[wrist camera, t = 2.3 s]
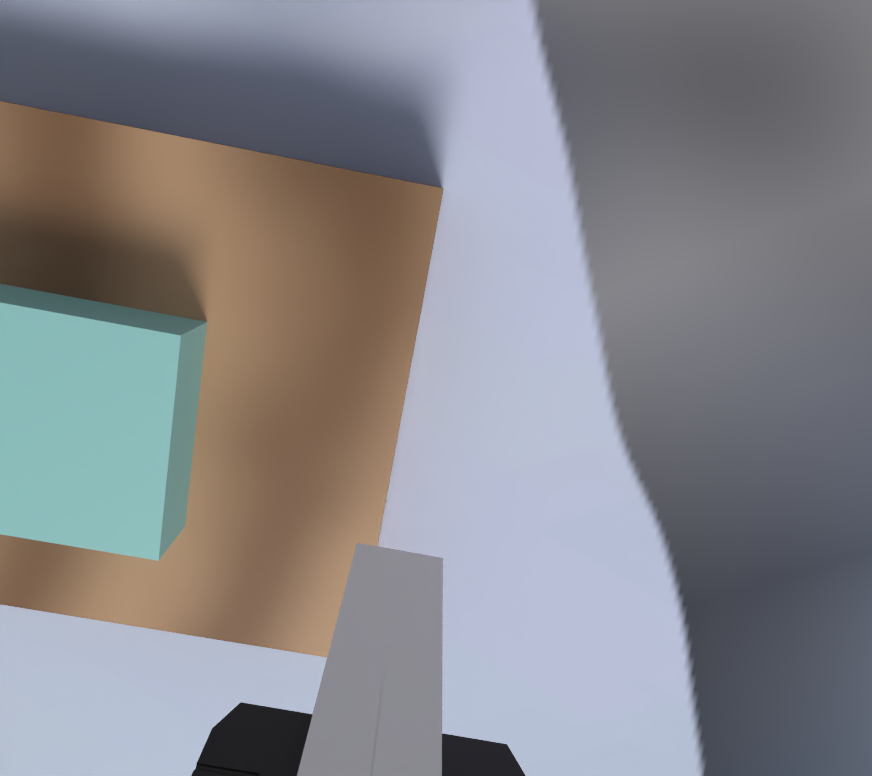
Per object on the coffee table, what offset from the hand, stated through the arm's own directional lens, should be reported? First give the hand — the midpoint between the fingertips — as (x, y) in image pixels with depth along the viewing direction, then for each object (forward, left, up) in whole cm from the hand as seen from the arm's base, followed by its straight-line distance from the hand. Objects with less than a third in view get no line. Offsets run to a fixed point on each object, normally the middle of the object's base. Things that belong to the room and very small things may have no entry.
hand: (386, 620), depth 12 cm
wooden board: (-10, 0, -10) cm, 15 cm away
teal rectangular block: (-10, 0, -8) cm, 13 cm away
